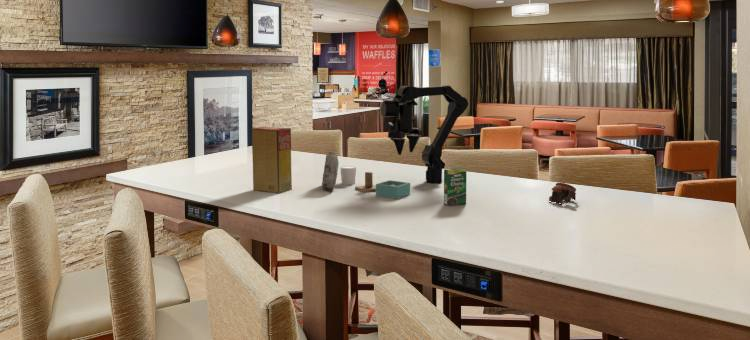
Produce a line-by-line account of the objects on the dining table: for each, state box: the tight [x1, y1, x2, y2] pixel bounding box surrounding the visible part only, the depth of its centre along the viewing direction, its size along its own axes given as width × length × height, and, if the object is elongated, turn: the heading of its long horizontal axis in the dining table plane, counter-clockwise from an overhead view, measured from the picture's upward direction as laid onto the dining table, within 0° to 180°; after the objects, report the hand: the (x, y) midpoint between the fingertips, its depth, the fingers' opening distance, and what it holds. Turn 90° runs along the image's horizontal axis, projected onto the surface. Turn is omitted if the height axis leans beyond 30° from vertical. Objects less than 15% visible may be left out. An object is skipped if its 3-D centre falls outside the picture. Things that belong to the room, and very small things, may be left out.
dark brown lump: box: [548, 182, 577, 204], centre depth 210 cm, size 12×10×8 cm
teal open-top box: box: [375, 179, 411, 200], centre depth 222 cm, size 10×10×4 cm
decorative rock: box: [321, 151, 339, 190], centre depth 234 cm, size 16×7×15 cm, turn 0°
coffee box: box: [443, 167, 467, 207], centre depth 206 cm, size 8×3×13 cm, turn 111°
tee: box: [354, 171, 376, 193], centre depth 232 cm, size 8×8×7 cm
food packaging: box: [251, 126, 293, 194], centre depth 230 cm, size 13×9×25 cm
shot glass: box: [339, 165, 357, 186], centre depth 245 cm, size 7×7×7 cm
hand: (405, 153), depth 243 cm, fingers open, 9 cm apart
